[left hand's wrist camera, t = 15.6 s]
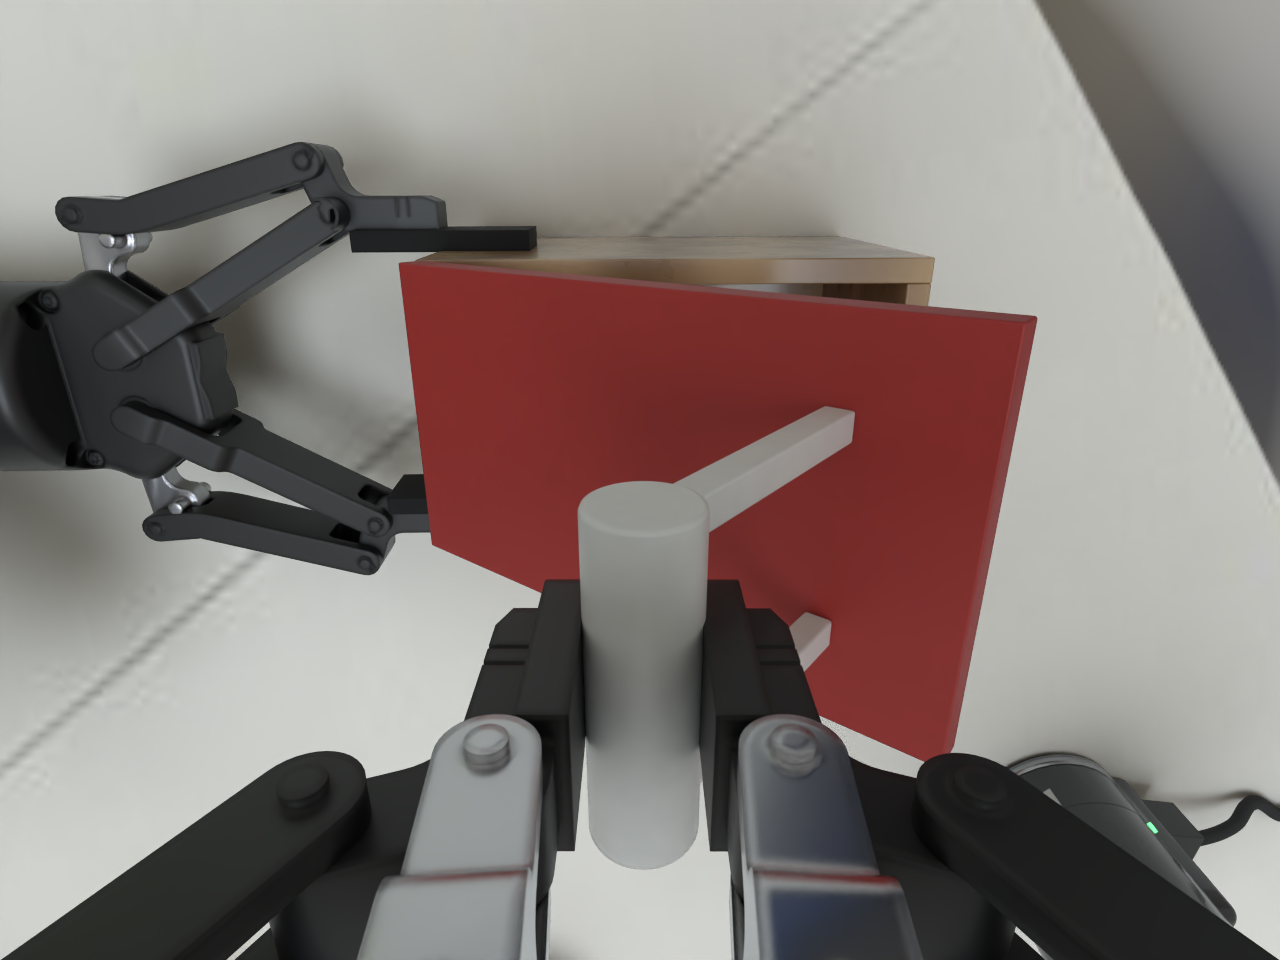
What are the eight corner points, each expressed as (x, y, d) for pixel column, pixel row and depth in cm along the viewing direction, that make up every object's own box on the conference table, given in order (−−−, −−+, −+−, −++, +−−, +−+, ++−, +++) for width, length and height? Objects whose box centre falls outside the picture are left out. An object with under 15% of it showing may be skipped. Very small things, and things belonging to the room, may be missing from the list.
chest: (839, 236, 35) (935, 257, 24) (821, 435, 38) (897, 527, 28) (476, 237, 34) (414, 260, 24) (492, 438, 38) (445, 534, 28)
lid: (1038, 315, 13) (845, 430, 7) (953, 746, 17) (777, 1072, 11) (422, 260, 24) (122, 287, 17) (452, 536, 27) (212, 640, 21)
